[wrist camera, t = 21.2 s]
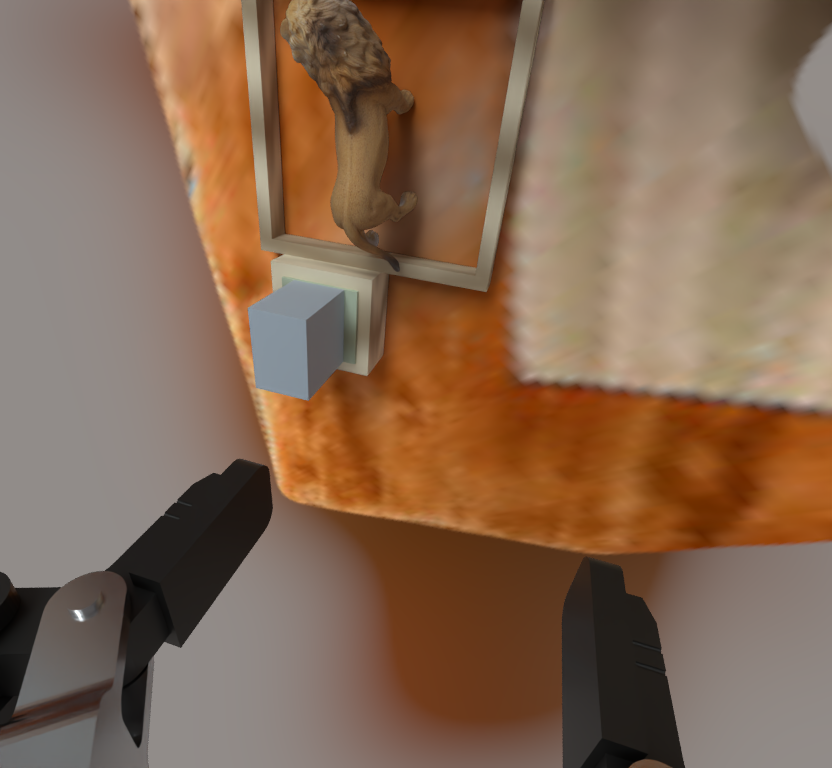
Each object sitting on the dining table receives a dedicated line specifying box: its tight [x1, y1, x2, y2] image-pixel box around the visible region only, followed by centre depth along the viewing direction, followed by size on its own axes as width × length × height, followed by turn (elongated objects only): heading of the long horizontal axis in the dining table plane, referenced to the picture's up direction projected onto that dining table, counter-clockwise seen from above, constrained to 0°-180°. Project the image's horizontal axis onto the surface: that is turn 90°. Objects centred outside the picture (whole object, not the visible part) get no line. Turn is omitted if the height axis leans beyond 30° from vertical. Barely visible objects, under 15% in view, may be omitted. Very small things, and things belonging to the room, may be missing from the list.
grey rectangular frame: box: [241, 0, 545, 376], centre depth 31 cm, size 26×18×4 cm
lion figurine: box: [280, 0, 418, 272], centre depth 27 cm, size 15×5×9 cm, turn 11°
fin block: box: [248, 280, 344, 401], centre depth 32 cm, size 6×4×6 cm, turn 174°
